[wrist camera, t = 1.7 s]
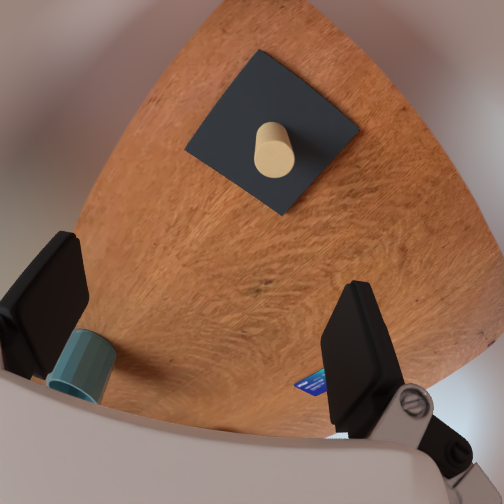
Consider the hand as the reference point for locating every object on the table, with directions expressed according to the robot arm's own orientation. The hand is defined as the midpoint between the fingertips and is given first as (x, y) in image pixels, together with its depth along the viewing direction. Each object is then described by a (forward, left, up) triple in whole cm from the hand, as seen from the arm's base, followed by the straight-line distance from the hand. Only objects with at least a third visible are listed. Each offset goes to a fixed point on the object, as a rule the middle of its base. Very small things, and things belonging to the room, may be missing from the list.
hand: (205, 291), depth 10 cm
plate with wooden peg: (+1, +3, -17) cm, 17 cm away
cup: (-2, -35, -17) cm, 39 cm away
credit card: (+28, -18, -17) cm, 38 cm away
